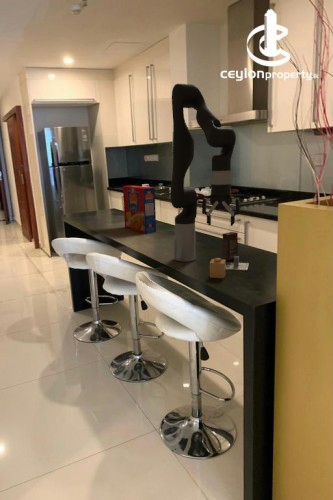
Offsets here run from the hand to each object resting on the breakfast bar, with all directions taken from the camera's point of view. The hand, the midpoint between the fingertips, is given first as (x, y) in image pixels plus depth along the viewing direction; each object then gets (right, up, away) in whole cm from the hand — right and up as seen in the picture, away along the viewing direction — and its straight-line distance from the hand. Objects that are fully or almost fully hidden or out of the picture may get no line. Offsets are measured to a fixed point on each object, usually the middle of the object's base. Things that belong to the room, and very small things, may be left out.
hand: (220, 225), depth 150 cm
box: (+8, -14, +29) cm, 33 cm away
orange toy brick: (-1, -20, +4) cm, 20 cm away
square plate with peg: (+9, -17, +16) cm, 25 cm away
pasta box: (-38, +3, +103) cm, 110 cm away
